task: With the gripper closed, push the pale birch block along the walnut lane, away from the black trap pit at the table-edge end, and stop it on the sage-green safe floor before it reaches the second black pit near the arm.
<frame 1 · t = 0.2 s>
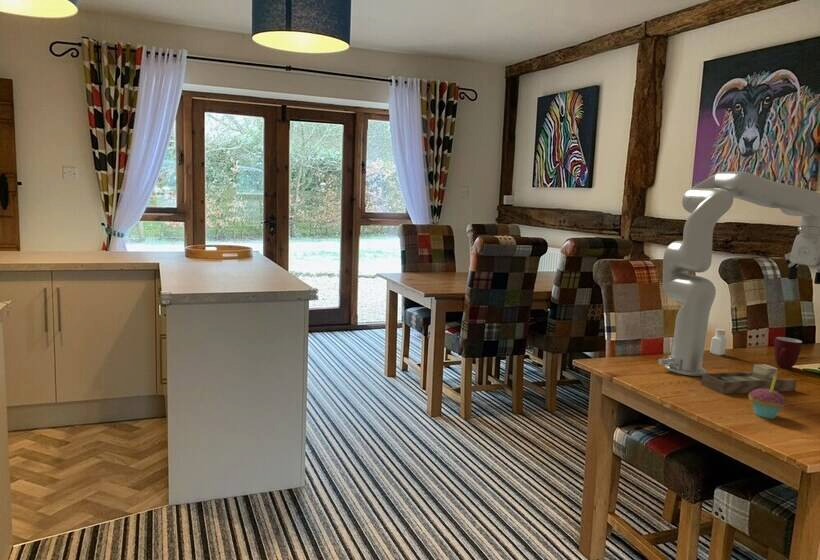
hand: (804, 281, 205), 31 cm above the table, fingers open, 9 cm apart
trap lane: (747, 387, 183), on the table
cupcake: (764, 415, 159), on the table
mug: (783, 368, 209), on the table
birch block: (763, 379, 184), point 2 cm above the table, touching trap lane
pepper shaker: (717, 354, 223), on the table
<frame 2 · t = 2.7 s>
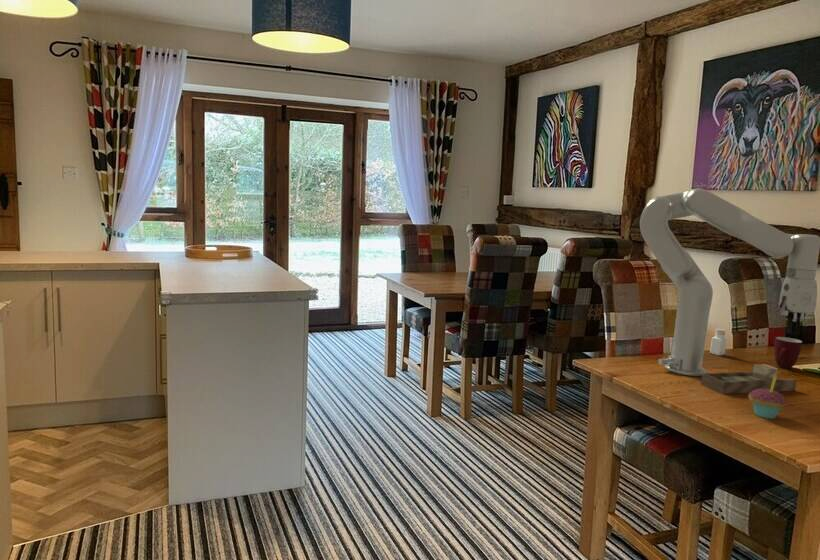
hand: (792, 333, 184), 17 cm above the table, fingers closed
nothing on the table moved.
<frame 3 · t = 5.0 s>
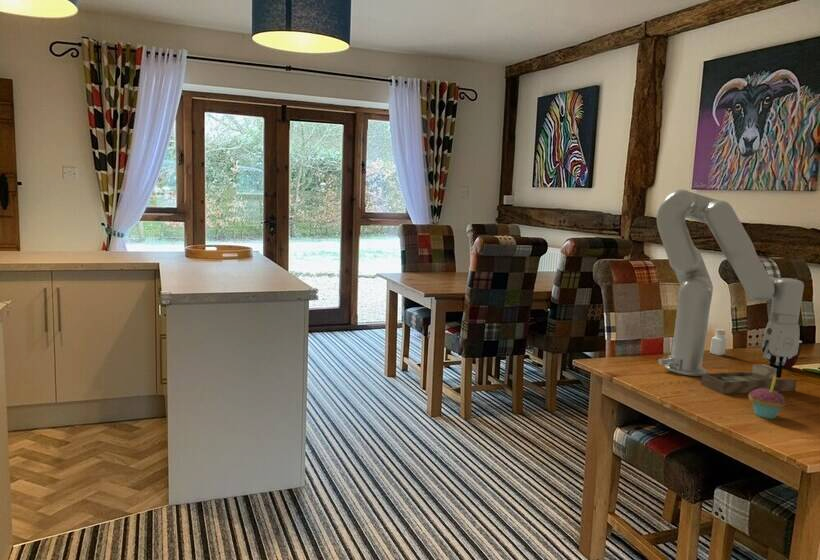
hand: (774, 376, 185), 3 cm above the table, fingers closed
birch block: (762, 379, 184), point 3 cm above the table, touching gripper, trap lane
everything else where it was.
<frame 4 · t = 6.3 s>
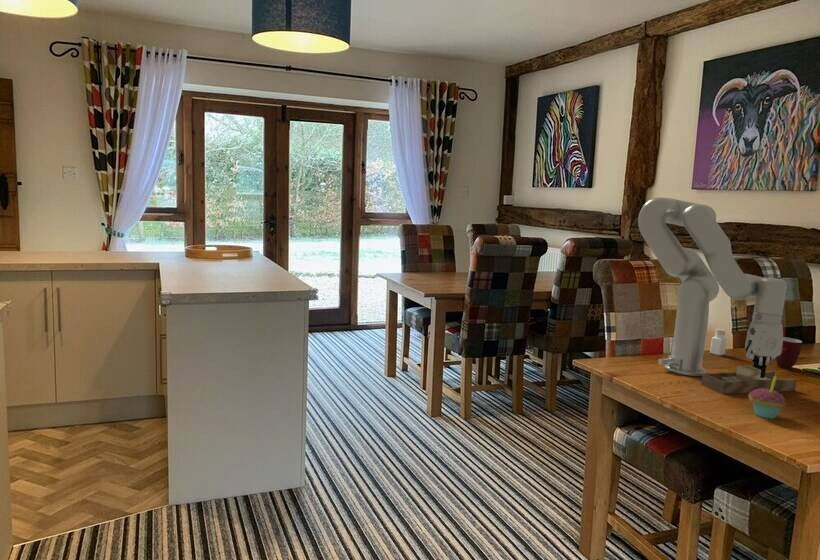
hand: (758, 376, 183), 3 cm above the table, fingers closed
birch block: (747, 380, 182), point 3 cm above the table, touching gripper, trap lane
everything else where it was.
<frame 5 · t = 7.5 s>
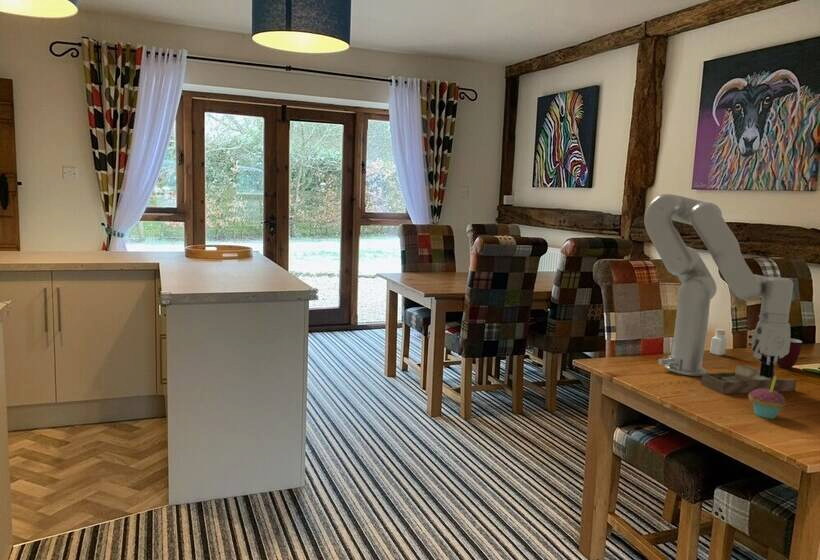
hand: (766, 376, 184), 4 cm above the table, fingers closed
birch block: (746, 380, 181), point 2 cm above the table, touching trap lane
everything else where it was.
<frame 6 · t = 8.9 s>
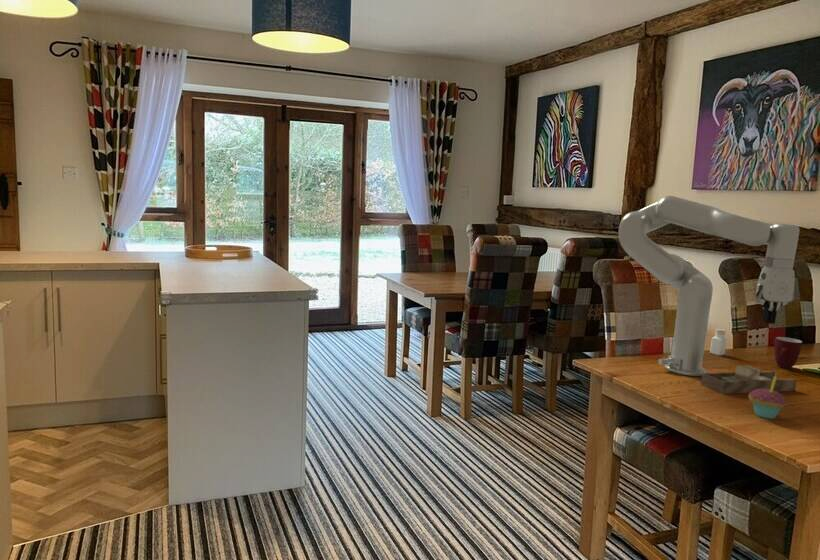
hand: (768, 322, 185), 20 cm above the table, fingers closed
nothing on the table moved.
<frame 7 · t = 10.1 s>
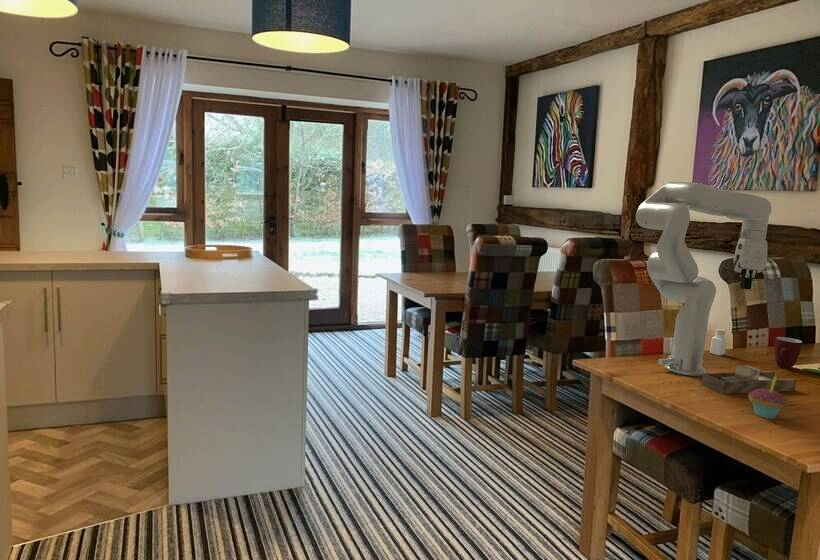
hand: (745, 288, 205), 27 cm above the table, fingers closed
nothing on the table moved.
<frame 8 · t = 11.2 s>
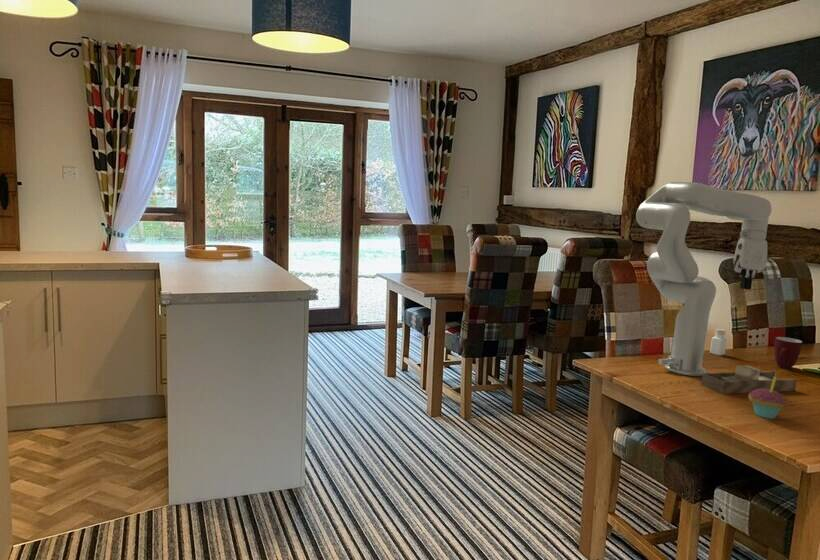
hand: (745, 288, 205), 27 cm above the table, fingers closed
nothing on the table moved.
at the end: birch block inside the target area (1.5 cm from its centre), point 2.5 cm above the table; birch block tilted 0°; birch block moved 7.6 cm from its start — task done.
